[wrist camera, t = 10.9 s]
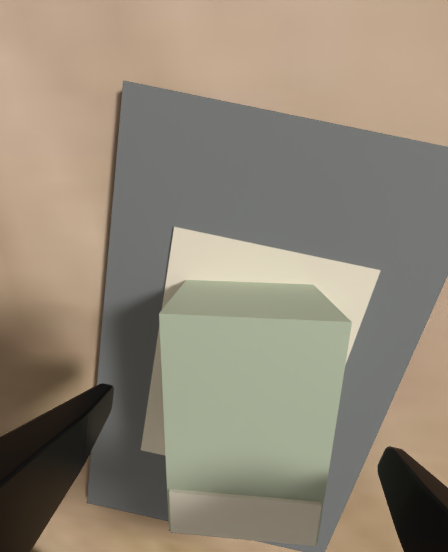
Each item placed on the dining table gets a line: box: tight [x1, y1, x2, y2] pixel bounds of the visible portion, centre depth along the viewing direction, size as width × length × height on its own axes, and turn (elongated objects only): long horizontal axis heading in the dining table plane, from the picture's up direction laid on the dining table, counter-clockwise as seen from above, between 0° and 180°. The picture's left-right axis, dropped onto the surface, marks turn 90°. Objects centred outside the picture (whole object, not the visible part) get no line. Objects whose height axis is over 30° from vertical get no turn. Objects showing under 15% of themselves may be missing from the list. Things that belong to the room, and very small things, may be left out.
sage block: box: [159, 280, 352, 546], centre depth 9 cm, size 5×8×4 cm, turn 179°
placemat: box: [87, 81, 448, 552], centre depth 11 cm, size 20×13×1 cm, turn 169°
